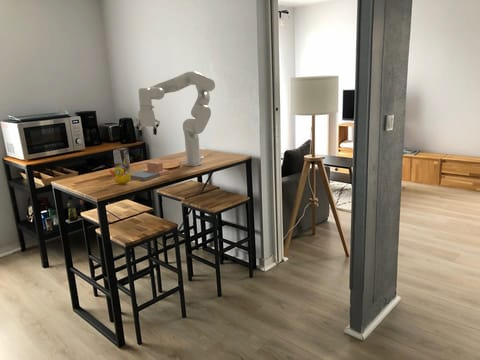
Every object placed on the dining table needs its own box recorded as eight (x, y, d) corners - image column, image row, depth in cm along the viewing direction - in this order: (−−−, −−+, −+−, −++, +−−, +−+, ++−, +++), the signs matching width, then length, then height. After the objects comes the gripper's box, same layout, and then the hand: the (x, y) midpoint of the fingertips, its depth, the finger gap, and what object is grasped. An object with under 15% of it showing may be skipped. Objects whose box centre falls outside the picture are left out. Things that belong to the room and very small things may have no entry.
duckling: (110, 185, 230) (108, 168, 227) (112, 183, 235) (110, 166, 232) (130, 184, 231) (128, 167, 228) (131, 181, 236) (129, 165, 233)
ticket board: (141, 173, 255) (141, 170, 255) (159, 176, 247) (159, 172, 246) (127, 177, 246) (126, 174, 245) (145, 180, 237) (144, 177, 237)
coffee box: (124, 174, 253) (121, 150, 249) (115, 174, 254) (112, 150, 250) (131, 171, 262) (128, 147, 257) (122, 171, 263) (119, 147, 259)
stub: (151, 170, 262) (150, 160, 260) (168, 173, 253) (168, 162, 252) (142, 173, 256) (141, 162, 254) (159, 176, 247) (159, 165, 245)
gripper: (156, 107, 254) (158, 133, 259) (130, 108, 244) (132, 136, 249) (161, 107, 248) (163, 134, 253) (134, 109, 239) (137, 137, 243)
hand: (147, 135), depth 251 cm, fingers open, 9 cm apart
